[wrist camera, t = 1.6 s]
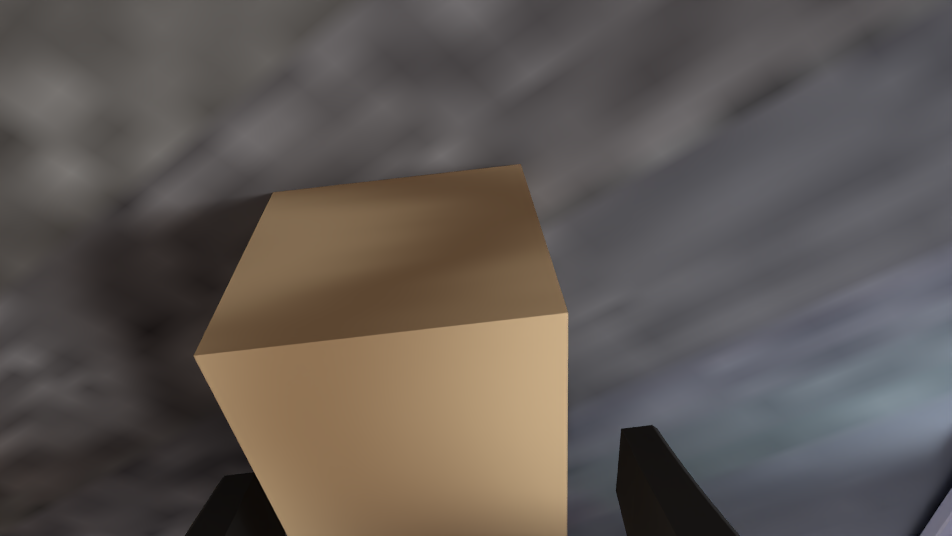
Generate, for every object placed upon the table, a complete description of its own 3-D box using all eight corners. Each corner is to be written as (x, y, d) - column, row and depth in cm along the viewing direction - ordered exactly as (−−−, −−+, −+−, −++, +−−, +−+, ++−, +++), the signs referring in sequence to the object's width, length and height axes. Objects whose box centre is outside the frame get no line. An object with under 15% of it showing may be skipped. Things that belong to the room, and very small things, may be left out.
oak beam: (518, 158, 9) (568, 312, 6) (538, 545, 16) (566, 715, 13) (276, 185, 9) (193, 355, 6) (399, 561, 16) (392, 736, 13)
